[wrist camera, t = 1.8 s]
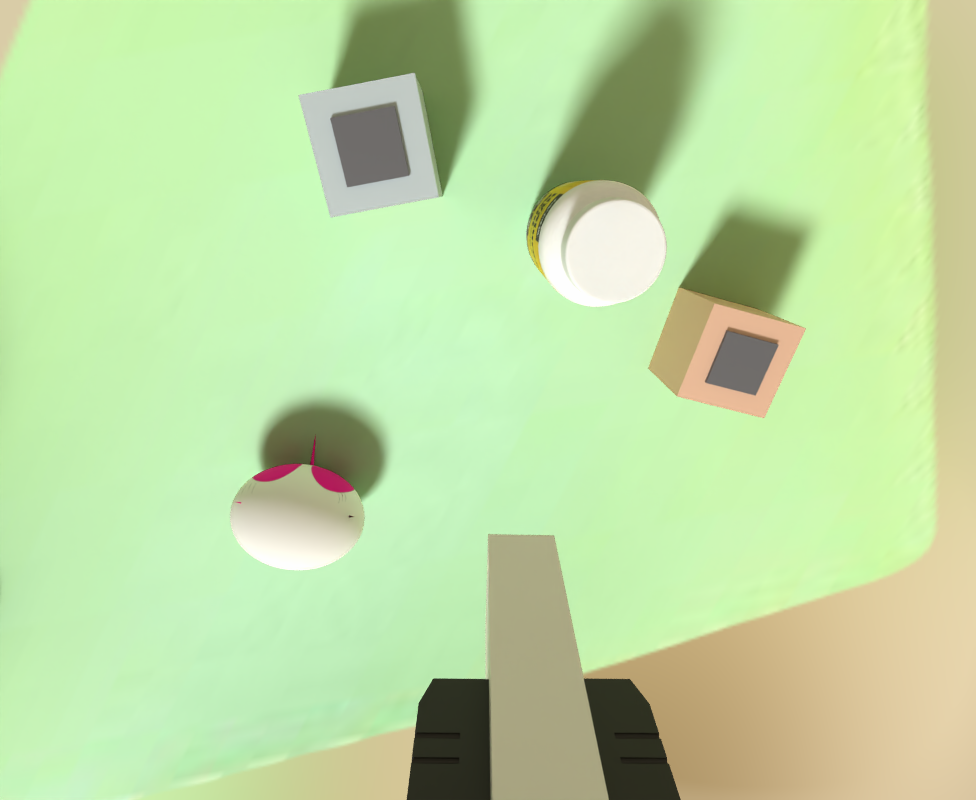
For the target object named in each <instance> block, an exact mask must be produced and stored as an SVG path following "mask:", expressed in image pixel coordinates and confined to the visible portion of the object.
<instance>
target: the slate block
mask: <svg viewBox="0 0 976 800" xmlns="http://www.w3.org/2000/svg"><path fill="white" fill-rule="evenodd" d="M299 99H300V102H301V106H302V110H303V114H304V118H305V121H306V125H307V129H308V133H309V137H310V141H311V144H312V148H313V152H314V156H315V160H316V164H317V167H318V171H319V175H320V179H321V183H322V187H323V190H324V194H325V198H326V202H327V206H328V209H329V213H330V217H335V216H340V215H346V214H351V213H356V212H362V211H367V210H372V209H378V208H383V207H388V206H394V205H399V204H404V203H410V202H415V201H420V200H426V199H431V198H436V197H441V196H443V195H442V190H441V184H440V179H439V174H438V169H437V164H436V158H435V153H434V148H433V143H432V138H431V132H430V127H429V122H428V117H427V112H426V106H425V101H424V96H423V91H422V89H421V87H420V84H419V82H418V80H417V77H416V75H415V73H410V74H405V75H400V76H395V77H390V78H385V79H379V80H374V81H369V82H364V83H359V84H354V85H348V86H343V87H338V88H333V89H328V90H323V91H317V92H312V93H307V94H302V95H299Z"/></svg>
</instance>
